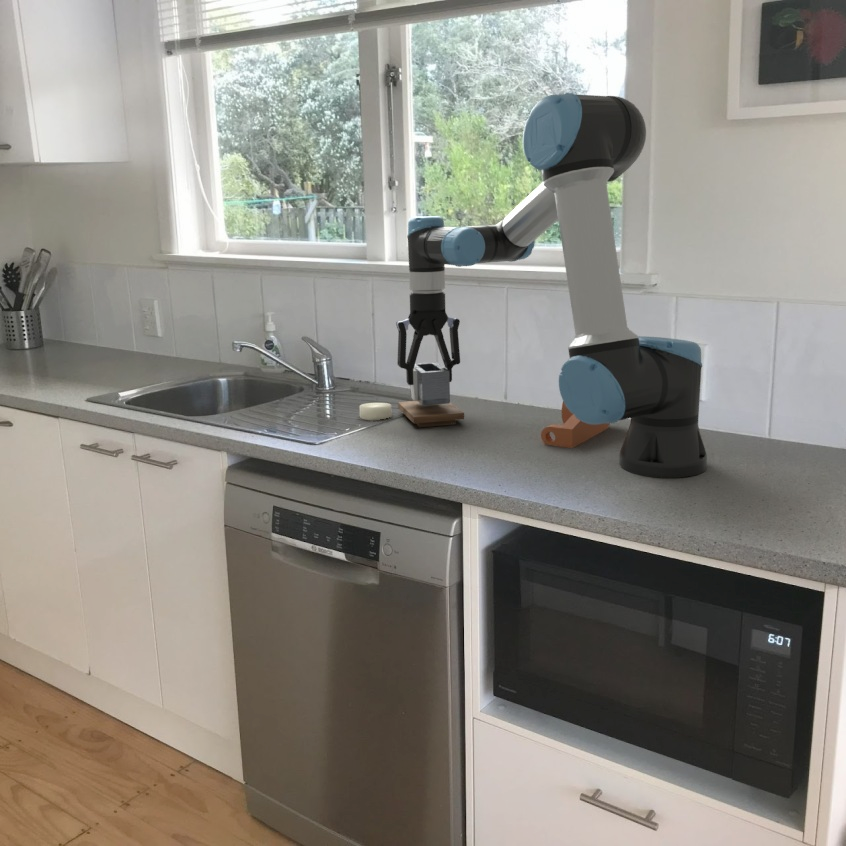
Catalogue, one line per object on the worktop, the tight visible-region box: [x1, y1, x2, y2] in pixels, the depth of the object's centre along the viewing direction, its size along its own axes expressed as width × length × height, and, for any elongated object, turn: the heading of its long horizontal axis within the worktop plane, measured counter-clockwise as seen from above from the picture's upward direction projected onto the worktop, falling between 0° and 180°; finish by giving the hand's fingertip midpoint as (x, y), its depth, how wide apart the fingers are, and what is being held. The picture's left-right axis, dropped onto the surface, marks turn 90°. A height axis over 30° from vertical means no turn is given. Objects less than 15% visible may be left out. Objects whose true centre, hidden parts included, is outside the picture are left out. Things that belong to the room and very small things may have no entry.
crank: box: [540, 401, 611, 449], centre depth 186 cm, size 20×8×8 cm, turn 146°
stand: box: [397, 400, 465, 428], centre depth 201 cm, size 15×11×3 cm
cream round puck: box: [359, 402, 392, 421], centre depth 204 cm, size 7×7×3 cm
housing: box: [409, 361, 451, 405], centre depth 199 cm, size 6×11×7 cm, turn 14°
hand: (429, 397), depth 200 cm, fingers closed on housing, 6 cm apart
